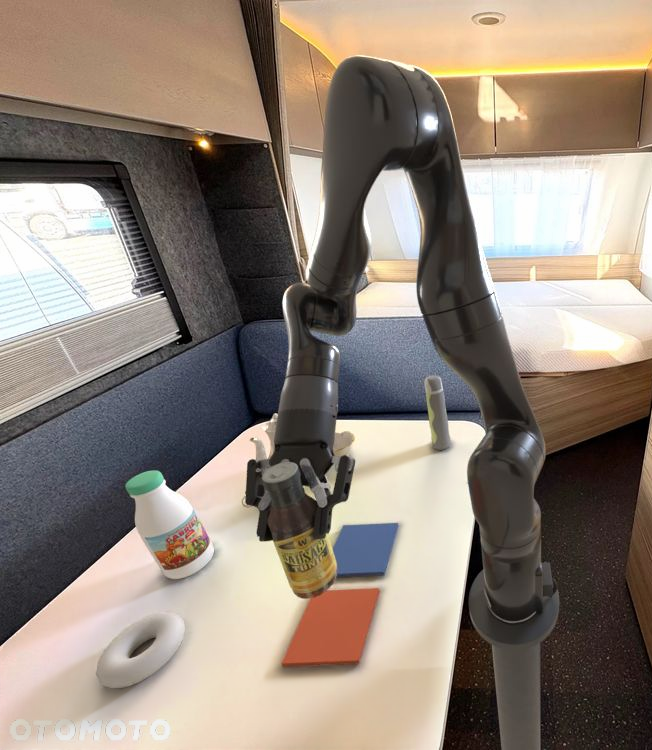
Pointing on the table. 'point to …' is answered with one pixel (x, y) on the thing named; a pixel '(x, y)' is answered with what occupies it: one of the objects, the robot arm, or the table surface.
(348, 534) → the slate-blue mat
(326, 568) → the sauce bottle
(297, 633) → the terracotta mat
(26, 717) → the table surface
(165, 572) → the milk bottle
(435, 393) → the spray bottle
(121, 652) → the donut
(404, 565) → the table surface
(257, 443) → the chinaware
